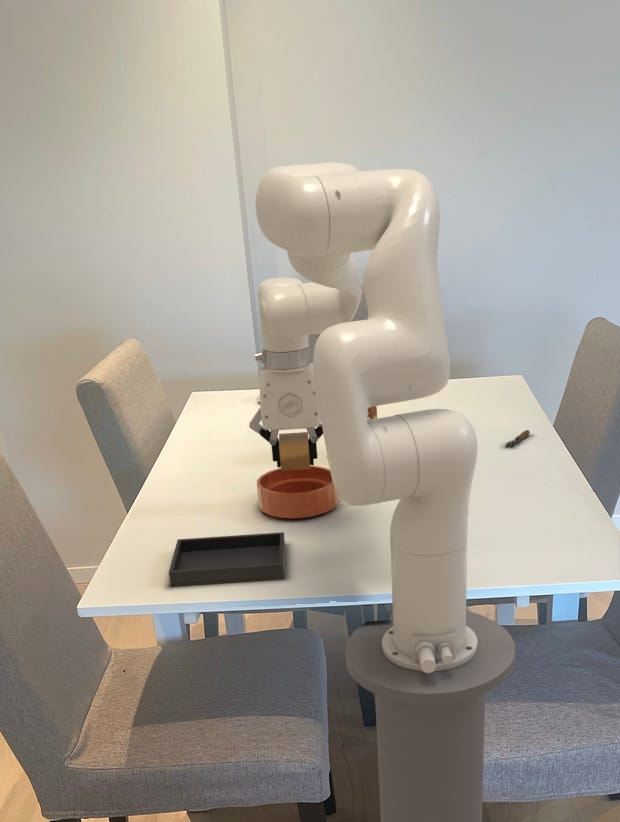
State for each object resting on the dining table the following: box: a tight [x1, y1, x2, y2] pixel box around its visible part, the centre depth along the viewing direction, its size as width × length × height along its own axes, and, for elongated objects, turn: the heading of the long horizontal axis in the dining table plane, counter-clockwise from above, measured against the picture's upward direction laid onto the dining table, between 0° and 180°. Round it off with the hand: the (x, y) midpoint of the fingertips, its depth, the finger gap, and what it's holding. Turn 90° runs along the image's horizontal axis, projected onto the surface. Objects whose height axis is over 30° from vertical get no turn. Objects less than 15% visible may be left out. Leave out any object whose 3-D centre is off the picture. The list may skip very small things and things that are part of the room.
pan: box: [168, 531, 286, 587], centre depth 145 cm, size 12×17×2 cm
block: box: [278, 431, 311, 471], centre depth 161 cm, size 5×5×5 cm
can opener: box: [505, 429, 531, 447], centre depth 189 cm, size 9×2×1 cm, turn 140°
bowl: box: [256, 465, 340, 519], centre depth 165 cm, size 14×14×5 cm
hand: (295, 462), depth 162 cm, fingers closed on block, 5 cm apart
